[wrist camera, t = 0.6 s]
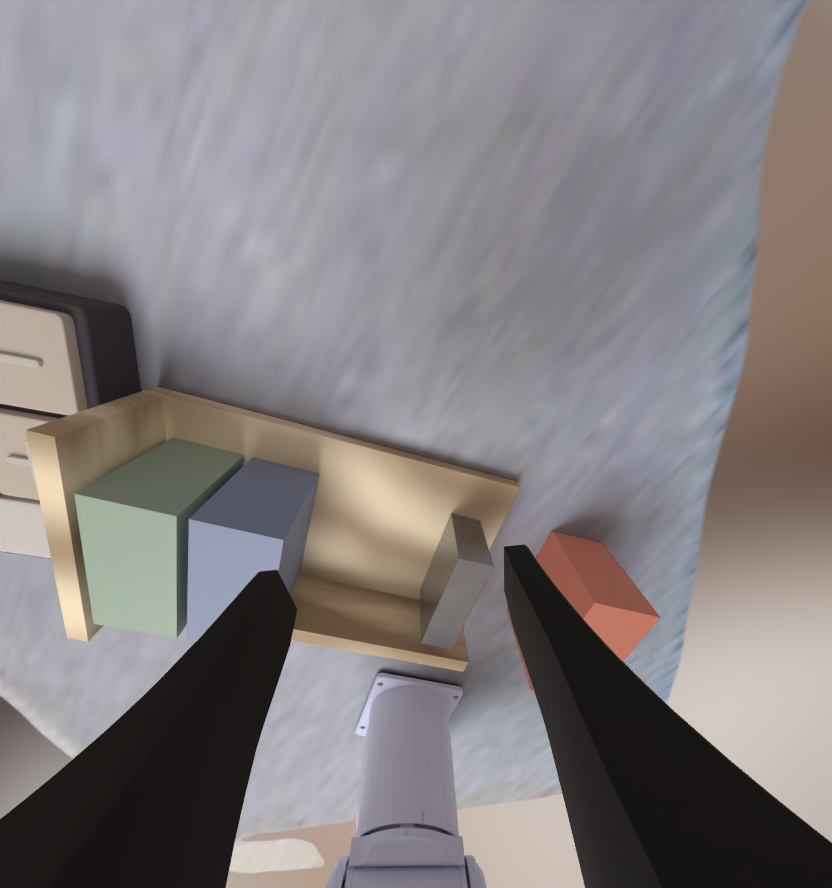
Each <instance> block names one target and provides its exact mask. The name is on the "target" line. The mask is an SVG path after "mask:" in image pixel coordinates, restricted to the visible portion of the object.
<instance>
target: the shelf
mask: <svg viewBox="0 0 832 888" xmlns="http://www.w3.org/2000/svg"><path fill="white" fill-rule="evenodd" d="M26 435H27V440H28V445H29V450H30V455H31V460H32V465H33V470H34V475H35V480H36V485H37V490H38V495H39V500H40V505H41V510H42V515H43V520H44V525H45V530H46V535H47V540H48V545H49V549H50V554H51V559H52V564H53V569H54V574H55V579H56V584H57V589H58V594H59V599H60V604H61V609H62V614H63V619H64V624H65V629H66V634H67V638H71V639H77V640H83V641H89V640H90V639H91V638H92V637H93V636H94V635H95V634H96V633H97V632H98V631H99V630H100V629H101V627H102V626H103V625H98V624H94V623H93V617H92V610H91V603H90V596H89V590H88V583H87V576H86V570H85V563H84V556H83V550H82V543H81V536H80V529H79V523H78V516H77V509H76V503H75V496H74V494H75V493H76V492H78V491H80V490H82V489H83V488H85V487H87V486H89V485H90V484H92V483H94V482H96V481H97V480H99V479H101V478H103V477H104V476H106V475H108V474H110V473H111V472H113V471H115V470H117V469H118V468H120V467H122V466H124V465H125V464H127V463H129V462H131V461H133V460H134V459H136V458H138V457H140V456H141V455H143V454H145V453H147V452H148V451H150V450H152V449H154V448H155V447H157V446H159V445H161V444H162V443H164V442H166V441H168V440H169V439H171V438H173V437H175V438H179V439H183V440H187V441H191V442H195V443H199V444H203V445H207V446H211V447H215V448H219V449H223V450H227V451H231V452H235V453H239V454H243V455H244V463H243V466H244V465H245V464H246V463H247V462H248V461H249V460H250V459H251V458H252V457H255V458H259V459H263V460H267V461H271V462H275V463H279V464H283V465H287V466H292V467H296V468H300V469H304V470H308V471H312V472H316V473H320V475H319V480H318V485H317V490H316V495H315V500H314V505H313V510H312V515H311V520H310V525H309V530H308V535H307V540H306V545H305V550H304V555H303V560H302V565H301V570H300V572H299V574H298V577H297V579H296V581H295V584H294V586H293V589H292V591H291V593H290V596H291V598H292V600H293V602H294V604H295V606H296V608H297V614H296V619H295V624H294V629H293V634H292V638H291V640H294V641H300V642H305V643H310V644H316V645H321V646H327V647H332V648H337V649H343V650H348V651H353V652H359V653H364V654H370V655H375V656H380V657H386V658H391V659H397V660H402V661H407V662H413V663H418V664H424V665H429V666H434V667H440V668H445V669H450V670H456V671H461V672H463V671H464V670H465V668H466V666H467V664H468V655H467V649H466V642H465V635H464V629H463V628H462V630H461V632H460V633H459V635H458V637H457V639H456V641H455V643H454V645H453V647H452V649H449V648H444V647H439V646H434V645H428V644H423V643H421V628H420V588H421V586H422V583H423V581H424V579H425V576H426V574H427V571H428V569H429V566H430V564H431V561H432V559H433V556H434V554H435V552H436V549H437V547H438V544H439V542H440V539H441V537H442V534H443V532H444V530H445V527H446V525H447V522H448V520H449V517H450V515H451V514H455V515H460V516H464V517H468V518H472V519H476V520H480V522H481V525H482V528H483V532H484V535H485V538H486V542H487V545H488V549H490V547H491V545H492V543H493V541H494V539H495V537H496V535H497V533H498V531H499V529H500V527H501V525H502V523H503V521H504V519H505V517H506V515H507V513H508V511H509V509H510V507H511V505H512V503H513V501H514V499H515V497H516V495H517V493H518V491H519V488H520V487H519V485H518V483H517V482H516V481H514V480H510V479H506V478H503V477H499V476H495V475H491V474H487V473H484V472H480V471H476V470H472V469H468V468H465V467H461V466H457V465H453V464H450V463H446V462H442V461H438V460H434V459H431V458H427V457H423V456H419V455H416V454H412V453H408V452H404V451H400V450H397V449H393V448H389V447H385V446H382V445H378V444H374V443H370V442H366V441H363V440H359V439H355V438H351V437H347V436H344V435H340V434H336V433H332V432H329V431H325V430H321V429H317V428H313V427H310V426H306V425H302V424H298V423H295V422H291V421H287V420H283V419H279V418H276V417H272V416H268V415H264V414H261V413H257V412H253V411H249V410H245V409H242V408H238V407H234V406H230V405H226V404H223V403H219V402H215V401H211V400H208V399H204V398H200V397H196V396H192V395H189V394H185V393H181V392H177V391H174V390H170V389H166V388H162V387H158V386H156V387H153V388H150V389H147V390H144V391H141V392H138V393H135V394H132V395H129V396H126V397H123V398H120V399H117V400H114V401H111V402H108V403H105V404H102V405H99V406H96V407H93V408H90V409H87V410H84V411H81V412H78V413H75V414H72V415H69V416H66V417H63V418H60V419H57V420H54V421H51V422H48V423H45V424H42V425H39V426H36V427H33V428H30V429H27V430H26Z"/></svg>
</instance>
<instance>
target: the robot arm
mask: <svg viewBox="0 0 832 888" xmlns="http://www.w3.org/2000/svg"><path fill="white" fill-rule="evenodd" d="M504 590H505V595H506V599H507V604H508V608H509V613H510V617H511V621H512V625H513V628H514V631H515V634H516V637H517V640H518V643H519V646H520V650H521V653H522V656H523V659H524V662H525V665H526V668H527V670H528V673H529V676H530V679H531V682H532V685H533V688H534V691H535V694H536V697H537V700H538V703H539V706H540V709H541V713H542V716H543V719H544V723H545V726H546V730H547V733H548V737H549V741H550V745H551V749H552V753H553V757H554V761H555V765H556V769H557V773H558V777H559V781H560V785H561V789H562V793H563V797H564V801H565V805H566V809H567V813H568V817H569V822H570V826H571V830H572V834H573V838H574V842H575V847H576V851H577V855H578V859H579V863H580V868H581V872H582V876H583V880H584V885H585V888H832V843H831V842H830V841H829V840H827V839H826V838H825V837H824V836H822V835H820V833H818V832H817V831H816V830H815V829H813V828H812V827H811V826H810V825H808V824H807V823H806V822H805V821H803V820H802V819H801V818H800V817H798V816H797V815H796V814H795V813H793V812H792V811H791V810H790V809H788V808H787V807H786V806H785V805H783V804H782V803H781V802H780V801H778V800H777V799H776V798H775V797H773V796H772V795H771V794H770V793H769V792H767V791H766V790H765V789H764V788H763V787H761V786H760V785H759V784H758V783H756V782H755V781H754V780H753V779H752V778H751V777H749V776H748V775H747V774H746V773H745V772H743V771H742V770H741V769H740V768H739V767H737V766H736V765H735V764H734V763H732V762H731V761H730V760H729V759H728V758H727V757H725V756H724V755H723V754H722V753H721V752H720V751H719V750H718V749H716V748H715V747H714V746H713V745H712V744H711V743H710V742H708V741H707V740H706V739H705V738H704V737H703V736H702V735H701V734H699V733H698V732H697V731H696V730H695V729H694V728H693V727H691V726H690V725H689V724H688V723H687V722H686V721H685V720H684V719H682V718H681V717H680V716H679V715H678V714H677V713H676V712H674V711H673V710H672V709H671V708H670V707H669V706H668V705H667V704H666V703H665V702H664V701H663V700H662V699H661V698H659V697H658V696H657V695H656V694H655V693H654V692H653V691H652V690H651V689H650V688H649V687H648V686H647V685H646V684H645V683H644V682H643V681H642V680H641V679H640V678H639V677H638V676H637V675H636V674H635V673H634V672H633V671H632V670H631V669H630V668H629V667H628V666H627V665H626V664H625V663H624V662H623V661H622V660H621V659H620V658H619V657H618V656H617V655H616V654H615V653H614V652H613V651H612V650H611V649H610V648H609V647H608V646H607V645H606V644H605V643H604V641H603V640H602V639H601V638H600V637H599V636H598V635H597V634H596V633H595V632H594V631H593V629H592V628H591V627H590V626H589V625H588V624H587V623H586V622H585V620H584V619H583V618H582V617H581V616H580V615H579V614H578V612H577V611H576V610H575V609H574V608H573V606H572V605H571V604H570V603H569V602H568V600H567V599H566V598H565V597H564V596H563V594H562V593H561V592H560V591H559V589H558V588H557V587H556V586H555V584H554V583H553V582H552V580H551V579H550V578H549V576H548V575H547V574H546V573H545V571H544V570H543V568H542V567H541V566H540V564H539V563H538V562H537V560H536V559H535V557H534V556H533V554H532V553H531V551H530V550H529V548H528V547H527V546H525V545H516V546H506V547H504ZM296 614H297V608H296V606H295V604H294V602H293V600H292V598H291V596H290V594H289V592H288V590H287V588H286V586H285V584H284V582H283V580H282V578H281V576H280V574H279V572H278V570H269V571H259V572H258V573H257V574H256V575H255V576H254V577H253V579H252V580H251V581H250V582H249V583H248V584H247V585H246V586H245V588H244V589H243V590H242V591H241V592H240V593H239V594H238V595H237V597H236V598H235V599H234V600H233V601H232V602H231V603H230V605H229V606H228V607H227V608H226V609H225V610H224V611H223V613H222V614H221V615H220V616H219V617H218V618H217V619H216V620H215V621H214V623H213V624H212V625H211V626H210V627H209V628H208V629H207V630H206V631H205V633H204V634H203V635H202V636H201V637H200V638H199V639H198V640H197V641H196V642H195V643H194V645H193V646H192V647H191V648H190V649H189V650H188V651H187V652H186V653H185V654H184V655H183V656H182V657H181V658H180V659H179V660H178V661H177V662H176V663H175V664H174V665H173V667H172V668H171V669H170V670H169V671H168V672H167V673H166V674H165V675H164V676H163V677H162V678H161V679H160V680H159V681H158V682H157V683H156V684H155V685H154V686H153V687H152V688H151V689H150V690H149V691H148V692H147V693H146V694H145V695H144V696H143V697H142V698H141V699H140V700H139V701H137V702H136V703H135V704H134V705H133V706H132V707H131V708H130V709H129V710H128V711H127V712H126V713H125V714H124V715H123V716H121V717H120V718H119V719H118V720H117V721H116V722H115V723H114V724H113V725H112V726H111V727H110V728H108V729H107V730H106V731H105V732H104V733H103V734H102V735H100V736H99V737H98V738H97V739H96V740H95V741H94V742H92V743H91V744H90V745H89V746H88V747H87V748H86V749H84V750H83V751H82V752H81V753H80V754H79V755H77V756H76V757H75V758H74V759H73V760H72V761H71V762H69V763H68V764H67V765H66V766H65V767H64V768H63V769H61V770H60V771H59V772H58V773H57V774H56V775H54V776H53V777H52V778H51V779H50V780H48V781H47V782H46V783H45V784H43V785H42V786H41V787H40V788H39V789H37V790H36V791H35V792H34V793H32V795H30V796H29V797H28V798H26V799H25V800H24V801H23V802H21V803H20V804H19V805H18V806H16V807H15V808H14V809H13V810H11V811H10V812H9V813H8V814H6V815H5V816H4V817H2V818H1V819H0V888H225V887H226V882H227V877H228V872H229V867H230V862H231V857H232V852H233V847H234V842H235V837H236V833H237V828H238V824H239V820H240V815H241V811H242V806H243V802H244V797H245V793H246V789H247V785H248V781H249V777H250V773H251V768H252V764H253V760H254V756H255V752H256V748H257V745H258V742H259V738H260V735H261V732H262V728H263V725H264V722H265V719H266V716H267V713H268V710H269V707H270V704H271V701H272V698H273V695H274V692H275V689H276V686H277V683H278V680H279V677H280V674H281V671H282V668H283V665H284V662H285V659H286V656H287V653H288V649H289V646H290V643H291V638H292V634H293V629H294V624H295V619H296ZM462 695H463V689H462V688H461V687H459V686H454V685H448V684H443V683H437V682H432V681H426V680H421V679H415V678H409V677H404V676H398V675H393V674H387V673H379V674H377V676H376V678H375V681H374V683H373V686H372V688H371V691H370V694H369V696H368V699H367V701H366V704H365V706H364V709H363V711H362V714H361V716H360V719H359V722H358V724H357V727H356V732H355V733H356V734H357V735H360V736H365V742H364V751H363V760H362V768H361V777H360V786H359V795H358V804H357V813H356V828H357V835H356V837H353V838H352V839H351V847H350V856H349V857H345V856H344V857H341V858H340V860H339V861H338V864H337V865H336V867H335V868H334V870H333V871H332V872H331V874H330V877H329V881H328V884H327V888H486V883H485V879H484V875H483V872H482V870H481V868H480V867H479V865H478V864H477V863H476V861H475V858H474V857H473V856H471V855H468V856H467V855H466V856H465V857H464V848H463V838H462V836H459V832H458V821H457V808H456V796H455V784H454V772H453V760H452V748H451V736H450V723H449V717H450V716H451V714H452V712H453V710H454V709H455V707H456V705H457V704H458V702H459V700H460V698H461V697H462Z"/></svg>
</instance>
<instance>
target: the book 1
mask: <svg viewBox="0 0 832 888" xmlns="http://www.w3.org/2000/svg"><path fill="white" fill-rule="evenodd" d="M243 463H244V455H243V454H239V453H235V452H231V451H227V450H223V449H219V448H215V447H211V446H207V445H203V444H199V443H195V442H191V441H187V440H183V439H179V438H175V437H173V438H171V439H169V440H168V441H166V442H164V443H162V444H161V445H159V446H157V447H155V448H154V449H152V450H150V451H148V452H147V453H145V454H143V455H141V456H140V457H138V458H136V459H134V460H133V461H131V462H129V463H127V464H125V465H124V466H122V467H120V468H118V469H117V470H115V471H113V472H111V473H110V474H108V475H106V476H104V477H103V478H101V479H99V480H97V481H96V482H94V483H92V484H90V485H89V486H87V487H85V488H83V489H82V490H80V491H78V492H76V493H75V494H74V496H75V503H76V509H77V516H78V523H79V529H80V536H81V543H82V550H83V556H84V563H85V570H86V576H87V583H88V590H89V596H90V603H91V610H92V617H93V623H94V624H98V625H103V626H109V627H115V628H120V629H126V630H131V631H137V632H143V633H148V634H154V635H159V636H165V637H171V638H176V639H177V637H178V636H179V635H180V633H181V632H182V630H183V629H184V627H185V626H186V625H187V595H188V538H189V518H190V517H191V516H193V515H194V514H195V513H196V512H197V511H198V510H199V509H200V508H201V507H202V506H203V505H204V504H205V503H206V502H207V501H208V500H209V499H210V498H211V497H212V496H213V495H214V494H215V493H216V492H217V491H218V490H219V489H220V488H221V487H222V486H223V485H224V484H225V483H226V482H228V481H229V480H230V479H231V478H232V477H233V476H234V475H235V474H236V473H237V472H238V471H239V470H240V469H241V468H242V467H243Z"/></svg>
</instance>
